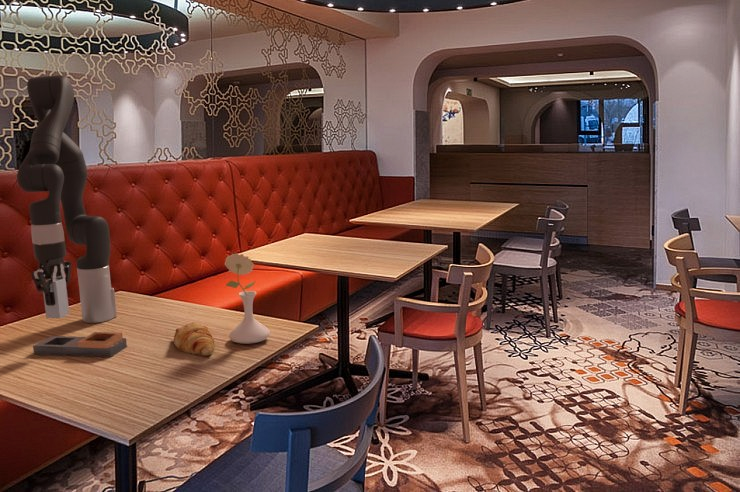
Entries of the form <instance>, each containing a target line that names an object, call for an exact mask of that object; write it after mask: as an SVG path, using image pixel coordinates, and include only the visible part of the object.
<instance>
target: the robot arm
mask: <svg viewBox="0 0 740 492" xmlns="http://www.w3.org/2000/svg"><path fill="white" fill-rule="evenodd" d="M26 83H27V84H26V89H27V94H28V99H29V101H30V104H31V107H32V110H33V112H34V115H35V118H36V120H37V123H38V125H36V127H35V128H34V131H33V132H32V135H31V139H30V145H29V151H28V153H27V154H26V156H25V158H23V161H22V162H21V164H20V166H19V168H18V171H17V173H16V180H17V185H18V186H19V188H20V189H21V190H23V191H24V192H29V193H36V192H37V193H38V192H40V193H41V192H48V195H47V197H46V198H44V199H40V200H36V201H32V202H31V203H30V204H29V209H28V210H29V217H30V225H31V231H30V232H31V241H32V242H31V243H32V249H33V256H34V257H33V258H34V259H35V260H37V261H38V269H37V270H36V271H35V270H34V271H31V273H30V275H31V278H32V280H33V283H34V286H35V288H36V291H37V292H42V293H43V292H44V294H45V302H46V305H48V306H53V305H55V297H54V292H53V290H54V286H53V283H54V282H56V279H64V278H65V281H66V285H67V284H68V283H70V282H71V275H72V273H71V272H72V261H70V260H69V261H67V260H65V259H64V258H65V257H66V256H67V247H66V240H65V232H64V227H63V224H62V223H63V222H62V215H61V206H62V213H63V219H64V223H65V224H64V225H65V229H66V234H67V236H68V238H69V240H70V241H71V242H72V243H73V244H75V245H78V246H85V254H84V255H83V256H80V257H78V258H77V259H76V264H75V265H76V270H77V271H76V272H77V279H78V281H77V282H78V290H79V299H80V301H79V302H80V309H81V318H82V322H84V323H86V324H89V323H90V324H95V323H103V322H108V321H110V320H112V319H114V318H117V317H118V315H117V305H116V304H117V303H116V296H115V295H116V294H115V289H114V287H112V283H111V272H110V262H109V261H110V258H111V234H110V231H111V230H110V226H109V224H108V222H107V220H106V219H105V218H103V217H102V216H96V215H87V214H86V209H85V206H84V199H83V198H84V197H83V194H84V191H85V187H86V184H87V180H88V169H87V164H86V161H85V157H84V154H83V151H82V149H81V148H80V147H79V146H78V145H77V143H76V142H75V141H74V140H73V139H71V138H70V137H69V136H68V135H67V134H66V133H65V132H64V130H65V127H66V124H68V123H67V122H68V121H69V118H70V114H71V113H72V110H73V109H72V108H73V106H74V102H75V91H74V87H73V84H72V82H71V80H70V79H69V78H68V77H67V76H65V75H57V74H55V75H47V76H46V75H45V76H38V77H37V76H35V77H31V78H29V79H28V80H27V82H26ZM48 279H51V280H48ZM47 283H49V287H48V285H47Z"/></svg>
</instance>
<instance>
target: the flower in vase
mask: <svg viewBox="0 0 740 492" xmlns="http://www.w3.org/2000/svg"><path fill="white" fill-rule="evenodd" d="M224 261H225V262H224V265H225V267H226V269H228V271H229V272H230V273H232V274H237V277H236V281H235V280H229V281H228V282H227V283H226V285H225V287H229V288H232V289H233V288H234V289H237V288H238V287H240V289H241V290H242V291H240V292H238V296H239V297H240V298H241V301H242V304H243V311H244V316H243V319H242V321H241V322H239V323H238V324H237V325H236V326H235V327H234V328H233V329H232V330H231V331H230V332H229V334H228V337H229V339H230V341H232V342H235V343H237V344H244V345H245V344H247V345H248V344H256V343H260V342H262V341H265V340H266V339H268V338H269V337H270V336H271V332H270V329H268V328H267V327H266V326H265V325H264V324H262V323H260V322H259V321H258V320H257V319H255V317H254V314H253V307H254V306H253V304H254V303H253V302H254V299H255V296H256V295H257V292H256V291H255V290H253V291H252V290H248V289H249V288H251V287H253V286H254V284H255V283H256V280H254V281H252V282H250V283H248V284H247V285H245V287H244V288H243V286H242V284H241V283H240V280H239V276H240V275H241V276H243V275H244V276H245V275H248V274H249V273H253V270H254V267H255V265H254V262H252V259H251V258H249V256H247V255H246V256H245V255H244V253H236V252H235V253H232V254H230V255H227V257H225V260H224ZM246 289H247V290H246Z"/></svg>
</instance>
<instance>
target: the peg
mask: <svg viewBox="0 0 740 492" xmlns="http://www.w3.org/2000/svg"><path fill="white" fill-rule="evenodd" d="M65 278H66V277H65ZM65 278H64V279H56V282H54V283H53V286H54V290H53V292H54V297H55V305H53V306H48V305H46V302H45V294H44V292H42V293H43V294H42V295H43V301H44V302H43V303H44V309H45V318H46V319H62V318H64V317H66V316H67V315H70V309H69V308H70V307H69V299H68V290H67V284H66V281H65ZM47 280H51V279H47ZM47 285H48V287H49V283H47Z"/></svg>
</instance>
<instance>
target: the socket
mask: <svg viewBox="0 0 740 492" xmlns="http://www.w3.org/2000/svg"><path fill="white" fill-rule="evenodd" d="M127 347H128V344H127V338H126V337H123V332H107V331H105V332H104V331H94V332H93V333H91V334H89V335H87V336H72V335H71V336H69V335H67V336H65V335H64V336H63V335H62V336H61V335H52V336H50V337H47V338H45V339H43V340H42V341H40V342H37V343H35V344H34V345H32V349H33V350H32V351H33V355H34V356H63V357H64V356H65V357H66V356H67V357H88V358H89V357H90V358H91V357H93V358H95V357H96V358H112V357H114V356H115V355H117V354H118V353H120V352H122V351H123V350H124V349H126V348H127Z"/></svg>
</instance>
